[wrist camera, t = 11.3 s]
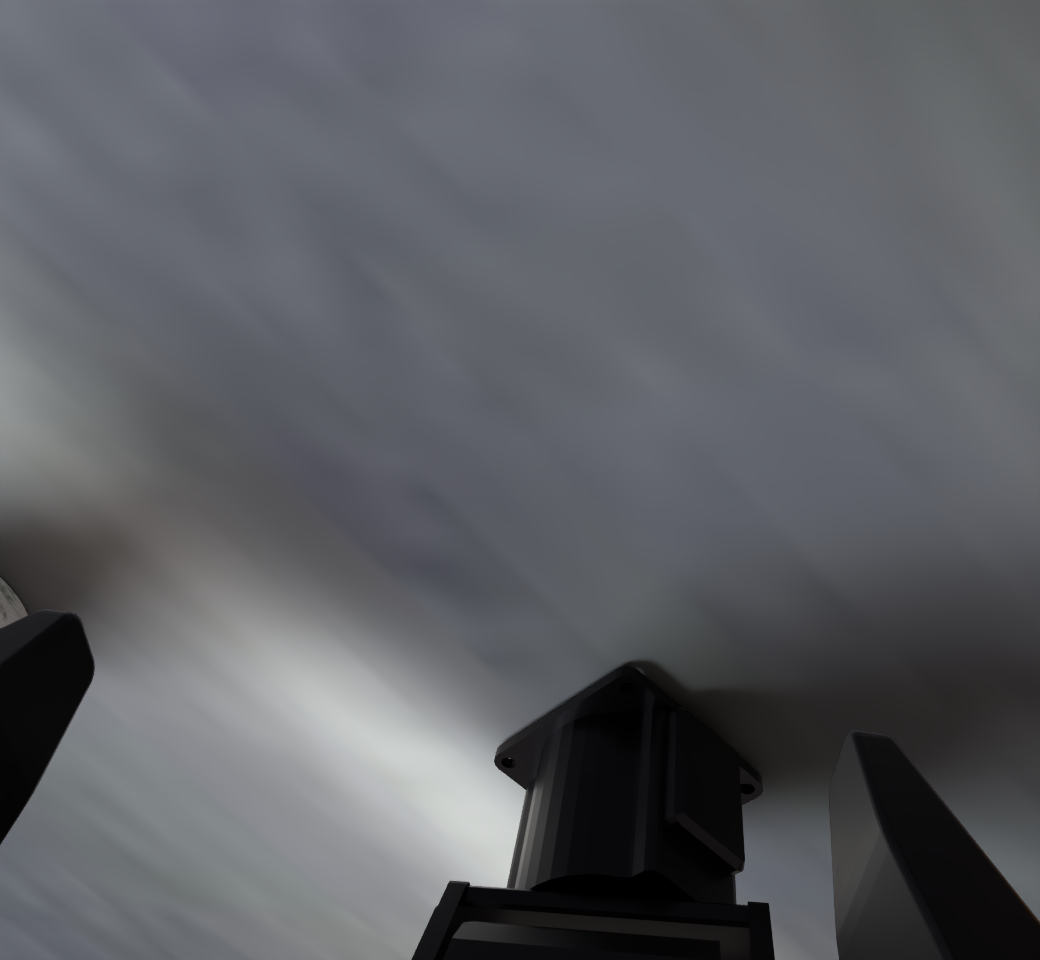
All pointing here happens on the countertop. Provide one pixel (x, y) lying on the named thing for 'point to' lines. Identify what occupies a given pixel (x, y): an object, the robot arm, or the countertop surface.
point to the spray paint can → (9, 605)
